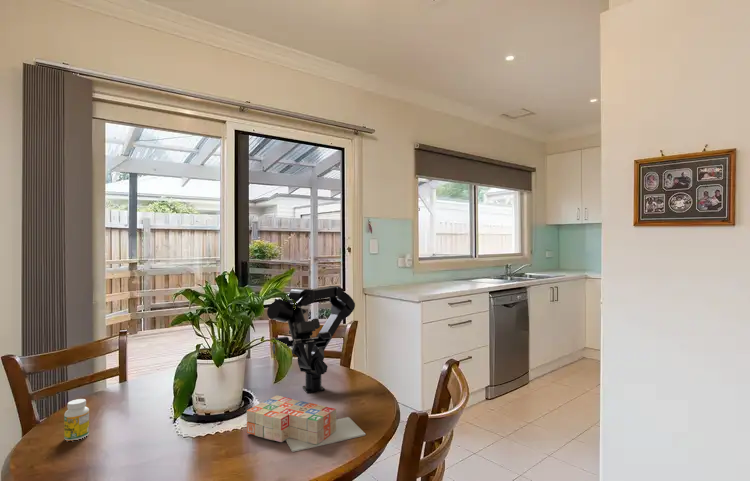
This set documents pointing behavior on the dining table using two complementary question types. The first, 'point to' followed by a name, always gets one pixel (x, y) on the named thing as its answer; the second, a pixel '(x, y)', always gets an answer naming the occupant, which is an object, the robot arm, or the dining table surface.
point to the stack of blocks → (291, 420)
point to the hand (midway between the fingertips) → (309, 366)
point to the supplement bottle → (76, 420)
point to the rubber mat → (343, 432)
